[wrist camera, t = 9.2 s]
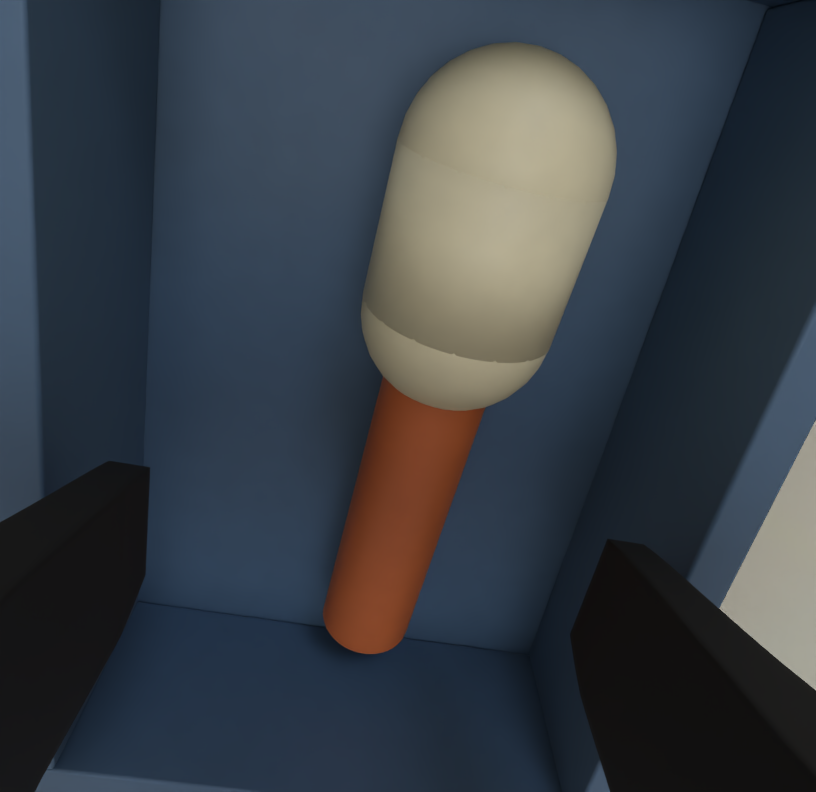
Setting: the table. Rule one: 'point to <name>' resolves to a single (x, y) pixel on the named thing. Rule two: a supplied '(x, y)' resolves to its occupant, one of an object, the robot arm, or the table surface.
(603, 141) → the bottle brush
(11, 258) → the wash tub
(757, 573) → the table surface
